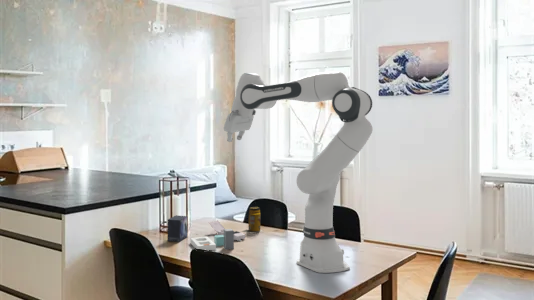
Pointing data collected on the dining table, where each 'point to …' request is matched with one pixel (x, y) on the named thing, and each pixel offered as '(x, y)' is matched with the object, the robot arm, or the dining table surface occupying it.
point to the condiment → (254, 220)
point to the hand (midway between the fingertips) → (234, 140)
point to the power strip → (203, 243)
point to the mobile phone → (220, 230)
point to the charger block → (228, 239)
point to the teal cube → (219, 240)
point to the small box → (177, 228)
